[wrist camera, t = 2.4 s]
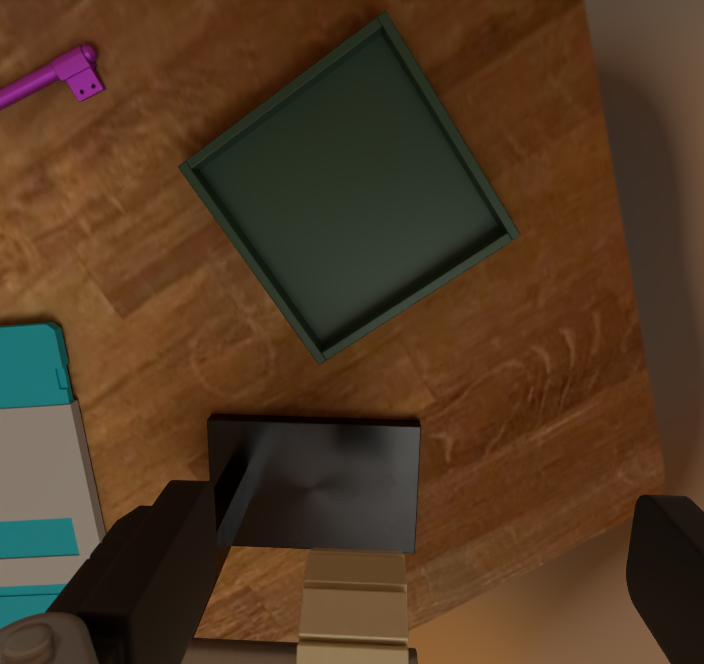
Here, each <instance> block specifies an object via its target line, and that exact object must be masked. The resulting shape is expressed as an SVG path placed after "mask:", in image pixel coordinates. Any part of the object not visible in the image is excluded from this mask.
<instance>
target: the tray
mask: <svg viewBox="0 0 704 664" xmlns="http://www.w3.org/2000/svg"><path fill="white" fill-rule="evenodd" d="M178 168H179V169H180V170H181V172H182V173H183V175H184V176H185V177H186V179H187V180H188V182H189V183H190V185H191V186H192V187H193V189H194V190H195V192H196V193H197V194H198V196H199V197H200V199H201V200H202V201H203V203H204V204H205V206H206V207H207V208H208V210H209V211H210V213H211V214H212V215H213V217H214V218H215V220H216V221H217V222H218V224H219V225H220V227H221V228H222V230H223V231H224V232H225V234H226V235H227V237H228V238H229V239H230V241H231V242H232V244H233V245H234V246H235V248H236V249H237V251H238V252H239V253H240V255H241V256H242V258H243V259H244V260H245V262H246V263H247V265H248V266H249V267H250V269H251V270H252V272H253V273H254V274H255V276H256V277H257V279H258V280H259V282H260V283H261V284H262V286H263V287H264V289H265V290H266V291H267V293H268V294H269V296H270V297H271V298H272V300H273V301H274V303H275V304H276V305H277V307H278V308H279V310H280V311H281V312H282V314H283V315H284V317H285V318H286V319H287V321H288V322H289V324H290V325H291V326H292V328H293V329H294V331H295V332H296V334H297V335H298V336H299V338H300V339H301V341H302V342H303V343H304V345H305V346H306V348H307V349H308V350H309V352H310V353H311V355H312V356H313V357H314V359H315V360H316V362H317V363H318V364H319V365H320V364H321V363H323V362H324V361H326V360H328V359H329V358H331V357H332V356H334V355H335V354H337V353H338V352H340V351H342V350H343V349H345V348H346V347H348V346H349V345H351V344H352V343H354V342H356V341H357V340H359V339H360V338H362V337H363V336H365V335H366V334H368V333H370V332H371V331H373V330H374V329H376V328H377V327H379V326H380V325H382V324H384V323H385V322H387V321H388V320H390V319H391V318H393V317H394V316H396V315H398V314H399V313H401V312H402V311H404V310H405V309H407V308H408V307H410V306H412V305H413V304H415V303H416V302H418V301H419V300H421V299H422V298H424V297H426V296H427V295H429V294H430V293H432V292H433V291H435V290H436V289H438V288H440V287H441V286H443V285H444V284H446V283H447V282H449V281H450V280H452V279H454V278H455V277H457V276H458V275H460V274H461V273H463V272H464V271H466V270H468V269H469V268H471V267H472V266H474V265H475V264H477V263H478V262H480V261H482V260H483V259H485V258H486V257H488V256H489V255H491V254H492V253H494V252H496V251H497V250H499V249H500V248H502V247H503V246H505V245H506V244H508V243H510V242H511V241H512V240H514V239H516V238H517V237H519V236H520V235H521V234H520V232H519V231H518V229H517V227H516V226H515V224H514V222H513V221H512V219H511V217H510V216H509V214H508V212H507V211H506V209H505V207H504V206H503V204H502V202H501V201H500V199H499V198H498V196H497V194H496V193H495V191H494V189H493V188H492V186H491V184H490V183H489V181H488V179H487V178H486V176H485V174H484V173H483V171H482V169H481V168H480V166H479V164H478V163H477V161H476V159H475V158H474V156H473V154H472V153H471V151H470V149H469V148H468V146H467V145H466V143H465V141H464V140H463V138H462V136H461V135H460V133H459V131H458V130H457V128H456V126H455V125H454V123H453V121H452V120H451V118H450V116H449V115H448V113H447V111H446V110H445V108H444V106H443V105H442V103H441V101H440V100H439V98H438V96H437V95H436V93H435V92H434V90H433V88H432V87H431V85H430V83H429V82H428V80H427V78H426V77H425V75H424V73H423V72H422V70H421V68H420V67H419V65H418V63H417V62H416V60H415V58H414V57H413V55H412V53H411V52H410V50H409V48H408V47H407V45H406V43H405V42H404V40H403V38H402V37H401V35H400V34H399V32H398V30H397V29H396V27H395V25H394V24H393V22H392V20H391V19H390V17H389V15H388V14H387V12H386V11H384V12H383V13H381V14H380V15H379V16H378V17H377V18H375V19H373V20H372V21H371V22H369V23H368V24H367V25H365V26H364V27H363V28H361V29H360V30H359V31H357V32H356V33H355V34H353V35H352V36H351V37H349V38H348V39H347V40H345V41H344V42H343V43H341V44H340V45H339V46H337V47H336V48H335V49H333V50H332V51H331V52H329V53H328V54H327V55H325V56H324V57H323V58H321V59H320V60H319V61H317V62H316V63H315V64H313V65H312V66H311V67H309V68H308V69H307V70H305V71H304V72H303V73H301V74H300V75H299V76H297V77H296V78H295V79H293V80H292V81H291V82H290V83H288V84H287V85H286V86H284V87H283V88H282V89H280V90H279V91H278V92H276V93H275V94H274V95H272V96H271V97H270V98H268V99H267V100H266V101H264V102H263V103H262V104H260V105H259V106H258V107H256V108H255V109H254V110H252V111H251V112H250V113H248V114H247V115H246V116H244V117H243V118H242V119H240V120H239V121H238V122H236V123H235V124H234V125H232V126H231V127H230V128H228V129H227V130H226V131H224V132H223V133H222V134H220V135H219V136H218V137H216V138H215V139H214V140H212V141H211V142H210V143H208V144H207V145H206V146H204V147H203V148H202V149H200V150H199V151H198V152H196V153H195V154H194V155H192V156H191V157H190V158H189V159H187V160H186V161H185V162H183V163H182V164H181V165H179V166H178Z"/></svg>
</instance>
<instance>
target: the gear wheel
mask: <svg viewBox="0 0 704 664" xmlns="http://www.w3.org/2000/svg"><path fill="white" fill-rule="evenodd" d="M298 636H299V642H298V645H297V653H296V664H409V651H408V647H407V643H408V600H407V579H406V566H405V558H404V554H403V552H402V551H391V550H366V549H341V548H317V547H314V548H312V549H311V550H310V552H309V555H308V560H307V566H306V571H305V576H304V588H303V590H302V600H301V609H300V618H299V628H298Z"/></svg>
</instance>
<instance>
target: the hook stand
mask: <svg viewBox="0 0 704 664" xmlns="http://www.w3.org/2000/svg"><path fill="white" fill-rule="evenodd" d="M207 431H208V452H209V473H210V482H211V483H212V485H213V488H214V499H215V518H216V537H217V568H216V575H215V580H214V584H213V587H212V590H211V592H210V595H209V597H208V600H207V602H206V604H205V607H204V609H203V612H202V614H201V617H200V619H199V621H198V624H197V626H196V629H195V631H194V634H193V636H192V638H191V641H190V643H189V646H188V648H187V651H186V653H185V655H184V658H183V660H182V663H181V664H296V653H297V645H298V643H294V642H273V641H251V640H230V639H208V638H194V635H195V633H196V631H197V628H198V626H199V623H200V621H201V618H202V616H203V614H204V611H205V609H206V606H207V604H208V601H209V599H210V597H211V594H212V592H213V589H214V587H215V584H216V582H217V580H218V577H219V575H220V572H221V570H222V567H223V565H224V563H225V560H226V558H227V555H228V553H229V550H230V548H231V546H249V547H274V548H299V549H312V548H314V547H317V548H341V549H366V550H391V551H402V552H403V553H415V539H416V519H417V498H418V478H419V458H420V437H421V425H420V421H419V420H391V419H359V418H328V417H296V416H265V415H233V414H211V415H210V417H209V418H208V419H207ZM408 651H409V664H418V663H417V652H416V649H415V648H408Z"/></svg>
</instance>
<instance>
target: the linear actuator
mask: <svg viewBox="0 0 704 664" xmlns="http://www.w3.org/2000/svg"><path fill="white" fill-rule="evenodd" d="M96 59H97V52H96V50H95V48H94V47H93V46H91V45H88V44H85V45H79V46H77V47H75V48H73V49H71V50H69V51H68V52H66V53H64V54H62V55H60V56H58V57H56V58H54V59H52V61H51V62H50V63H49V64H47V65H45V66H43V67H41V68H39V69H37V70H35V71H33V72H32V73H30V74H28V75H26V76H24V77H22V78H20V79H18V80H16V81H15V82H13V83H11V84H9V85H7V86H5V87H3V88H1V89H0V110H2V109H4V108H6V107H8V106H10V105H11V104H13V103H15V102H17V101H19V100H21V99H23V98H25V97H27V96H29V95H31V94H33V93H34V92H36V91H38V90H40V89H42V88H44V87H46V86H48V85H50V84H52V83H54V82H55V81H57V80H59V79H60V80H61V81H63V82H64V81H66V82H67V83H68V85H69V87H70V88H71V90H72V91H73V93H74V95H75V96H76V98H77V100H78V101H79V102H81V101H84V100H86V99H88V98H89V97H91V96H93V95H95V94H97V93H99V92H101V91H103V90H105V89H106V88H105V86H104V85H103V83H102V81H101V80H100V78H99V76H98V75H97V73H96V71H95V69H94V68H95V67H96V66H97V65H96V63H95V62H94V61H96ZM93 85H95V87H94V86H93ZM82 90H83V91H84V93H83V92H82Z"/></svg>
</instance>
